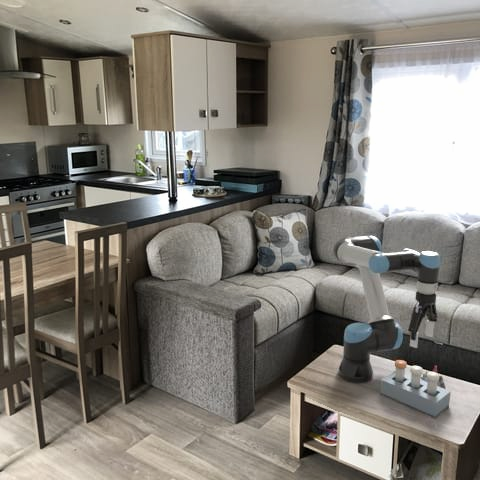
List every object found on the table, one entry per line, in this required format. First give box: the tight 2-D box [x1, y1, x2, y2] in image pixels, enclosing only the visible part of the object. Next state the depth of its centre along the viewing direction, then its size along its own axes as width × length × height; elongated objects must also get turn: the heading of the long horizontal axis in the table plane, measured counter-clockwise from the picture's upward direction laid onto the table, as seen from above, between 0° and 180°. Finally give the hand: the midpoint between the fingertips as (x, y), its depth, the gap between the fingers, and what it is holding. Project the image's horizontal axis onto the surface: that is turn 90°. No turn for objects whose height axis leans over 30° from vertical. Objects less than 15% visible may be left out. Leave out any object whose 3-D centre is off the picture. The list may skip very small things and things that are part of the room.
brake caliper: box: [420, 365, 447, 390], centre depth 215 cm, size 11×11×12 cm
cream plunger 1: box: [409, 365, 423, 390], centre depth 205 cm, size 5×5×9 cm
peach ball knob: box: [394, 359, 408, 383], centre depth 209 cm, size 5×5×9 cm
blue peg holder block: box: [379, 370, 451, 420], centre depth 206 cm, size 24×12×7 cm, turn 43°
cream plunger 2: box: [427, 371, 440, 397], centre depth 200 cm, size 5×5×9 cm
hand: (421, 341), depth 201 cm, fingers open, 13 cm apart
